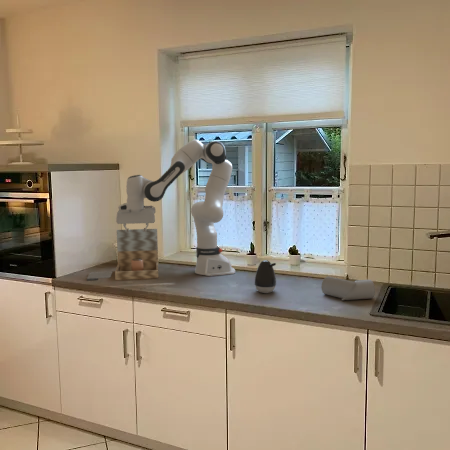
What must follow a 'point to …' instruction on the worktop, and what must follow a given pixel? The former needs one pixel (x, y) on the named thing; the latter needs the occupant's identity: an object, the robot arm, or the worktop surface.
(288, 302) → the worktop surface
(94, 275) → the slate tile
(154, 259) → the brown patterned open box
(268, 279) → the pump dispenser
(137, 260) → the terracotta pot
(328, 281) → the bent grey cylinder
